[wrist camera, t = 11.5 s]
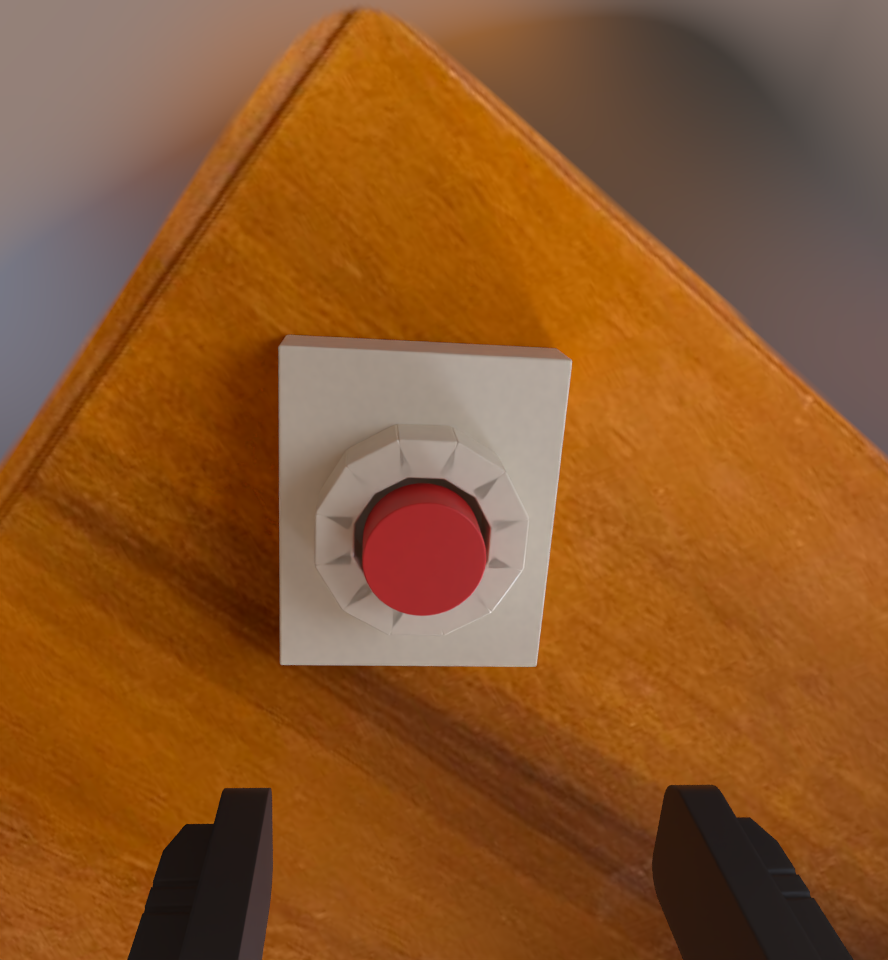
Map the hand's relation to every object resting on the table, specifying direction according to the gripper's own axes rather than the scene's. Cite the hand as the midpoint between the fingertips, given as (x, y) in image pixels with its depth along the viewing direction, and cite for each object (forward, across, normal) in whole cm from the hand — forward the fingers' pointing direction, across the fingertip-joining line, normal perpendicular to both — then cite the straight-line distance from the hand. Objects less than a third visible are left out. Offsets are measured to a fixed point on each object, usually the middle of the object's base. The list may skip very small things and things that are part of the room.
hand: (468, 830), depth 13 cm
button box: (+16, 0, 0) cm, 16 cm away
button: (+12, 0, 0) cm, 12 cm away
